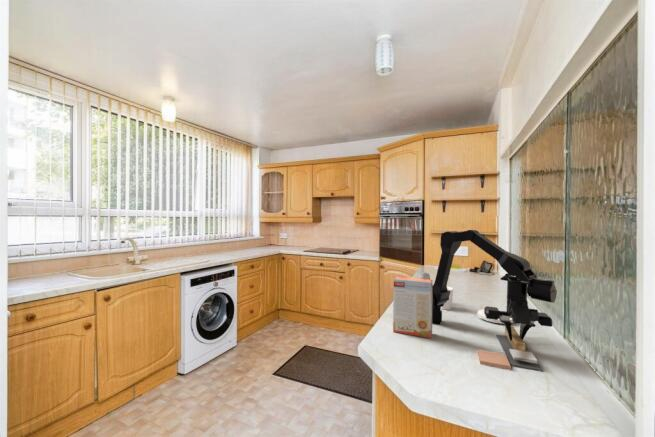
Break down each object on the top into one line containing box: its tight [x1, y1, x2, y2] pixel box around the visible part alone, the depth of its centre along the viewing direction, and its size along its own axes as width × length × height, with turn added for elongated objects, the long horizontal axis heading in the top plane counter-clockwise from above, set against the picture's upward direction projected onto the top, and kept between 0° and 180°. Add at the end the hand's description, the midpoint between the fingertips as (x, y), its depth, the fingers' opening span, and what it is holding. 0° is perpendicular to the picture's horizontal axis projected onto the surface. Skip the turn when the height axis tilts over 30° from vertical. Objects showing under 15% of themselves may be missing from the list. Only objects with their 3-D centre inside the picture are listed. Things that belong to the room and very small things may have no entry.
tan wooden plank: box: [504, 325, 538, 363], centre depth 97 cm, size 6×22×3 cm, turn 159°
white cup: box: [441, 286, 454, 311], centre depth 142 cm, size 8×8×10 cm
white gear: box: [477, 308, 514, 325], centre depth 127 cm, size 14×14×2 cm
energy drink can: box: [418, 271, 431, 280], centre depth 153 cm, size 6×6×15 cm
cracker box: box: [392, 276, 433, 339], centre depth 111 cm, size 14×6×21 cm, turn 65°
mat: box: [495, 333, 543, 372], centre depth 97 cm, size 8×24×1 cm, turn 159°
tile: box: [476, 349, 512, 371], centre depth 90 cm, size 8×2×8 cm
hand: (515, 340), depth 98 cm, fingers closed on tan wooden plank, 3 cm apart
